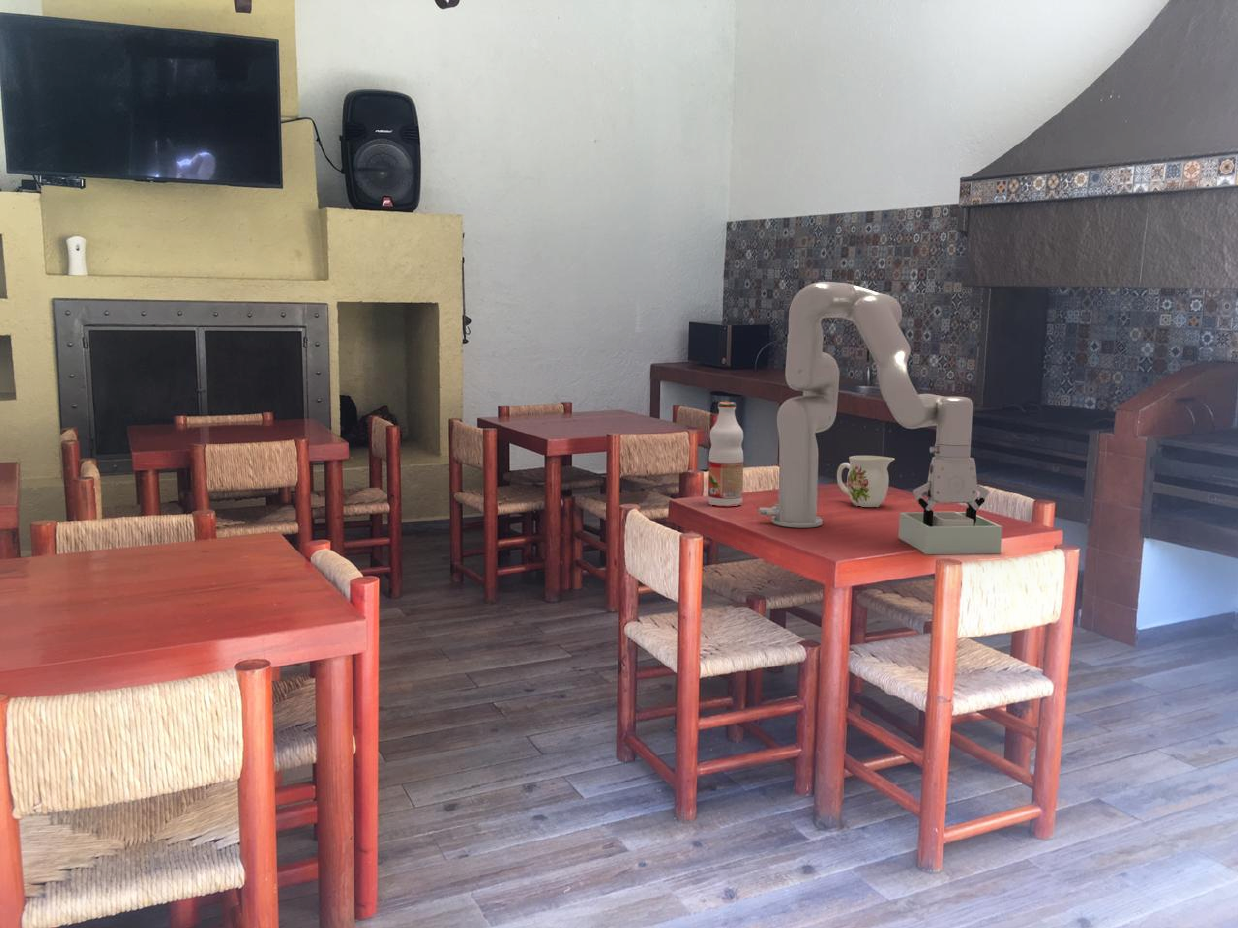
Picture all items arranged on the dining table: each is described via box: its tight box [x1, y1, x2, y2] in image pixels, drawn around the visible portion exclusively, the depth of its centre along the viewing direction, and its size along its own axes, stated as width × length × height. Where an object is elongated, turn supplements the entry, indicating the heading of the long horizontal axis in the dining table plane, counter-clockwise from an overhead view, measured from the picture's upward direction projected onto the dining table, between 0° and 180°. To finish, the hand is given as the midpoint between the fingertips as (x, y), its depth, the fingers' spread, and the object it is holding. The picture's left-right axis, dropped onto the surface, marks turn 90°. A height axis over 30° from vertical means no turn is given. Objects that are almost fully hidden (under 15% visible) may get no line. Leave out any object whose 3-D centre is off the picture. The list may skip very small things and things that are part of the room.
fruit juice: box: [707, 401, 744, 505], centre depth 289 cm, size 9×9×28 cm
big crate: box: [898, 511, 1003, 555], centre depth 241 cm, size 17×17×6 cm
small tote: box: [933, 511, 974, 526], centre depth 241 cm, size 7×10×6 cm
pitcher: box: [836, 455, 895, 508], centre depth 291 cm, size 11×18×14 cm, turn 43°
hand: (949, 526), depth 241 cm, fingers open, 9 cm apart
